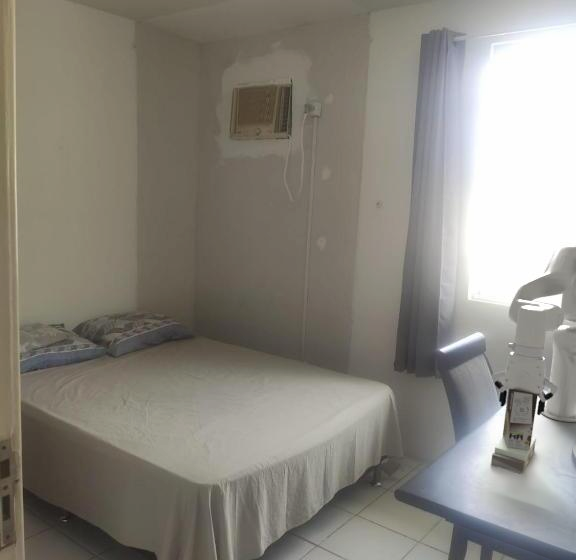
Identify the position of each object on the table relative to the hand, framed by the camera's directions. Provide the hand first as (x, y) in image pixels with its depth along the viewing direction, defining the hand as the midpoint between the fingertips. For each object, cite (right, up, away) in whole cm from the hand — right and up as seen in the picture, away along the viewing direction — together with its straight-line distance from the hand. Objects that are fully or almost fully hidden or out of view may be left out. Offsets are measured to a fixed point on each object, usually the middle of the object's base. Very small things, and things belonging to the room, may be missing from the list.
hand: (520, 409), depth 159 cm
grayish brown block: (-2, -14, +1) cm, 14 cm away
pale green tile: (-1, -11, +2) cm, 11 cm away
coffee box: (-1, -10, +1) cm, 10 cm away
